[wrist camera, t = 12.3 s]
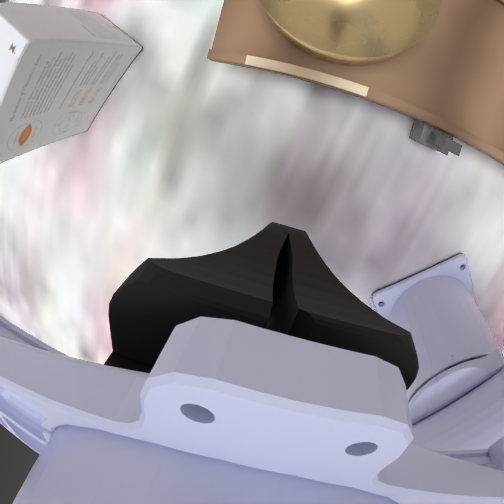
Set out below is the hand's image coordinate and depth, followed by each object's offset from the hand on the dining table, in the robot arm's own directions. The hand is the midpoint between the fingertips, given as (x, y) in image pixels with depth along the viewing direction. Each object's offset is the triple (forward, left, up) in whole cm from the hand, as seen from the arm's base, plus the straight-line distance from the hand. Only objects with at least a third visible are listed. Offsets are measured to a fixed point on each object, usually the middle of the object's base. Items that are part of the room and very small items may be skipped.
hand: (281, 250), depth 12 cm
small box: (+15, +8, -10) cm, 20 cm away
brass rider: (+8, -8, -6) cm, 13 cm away
